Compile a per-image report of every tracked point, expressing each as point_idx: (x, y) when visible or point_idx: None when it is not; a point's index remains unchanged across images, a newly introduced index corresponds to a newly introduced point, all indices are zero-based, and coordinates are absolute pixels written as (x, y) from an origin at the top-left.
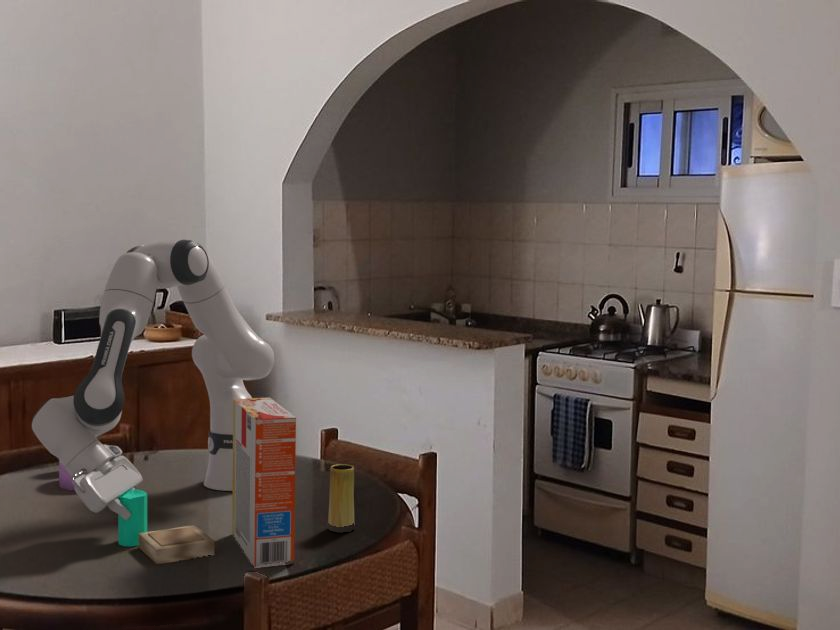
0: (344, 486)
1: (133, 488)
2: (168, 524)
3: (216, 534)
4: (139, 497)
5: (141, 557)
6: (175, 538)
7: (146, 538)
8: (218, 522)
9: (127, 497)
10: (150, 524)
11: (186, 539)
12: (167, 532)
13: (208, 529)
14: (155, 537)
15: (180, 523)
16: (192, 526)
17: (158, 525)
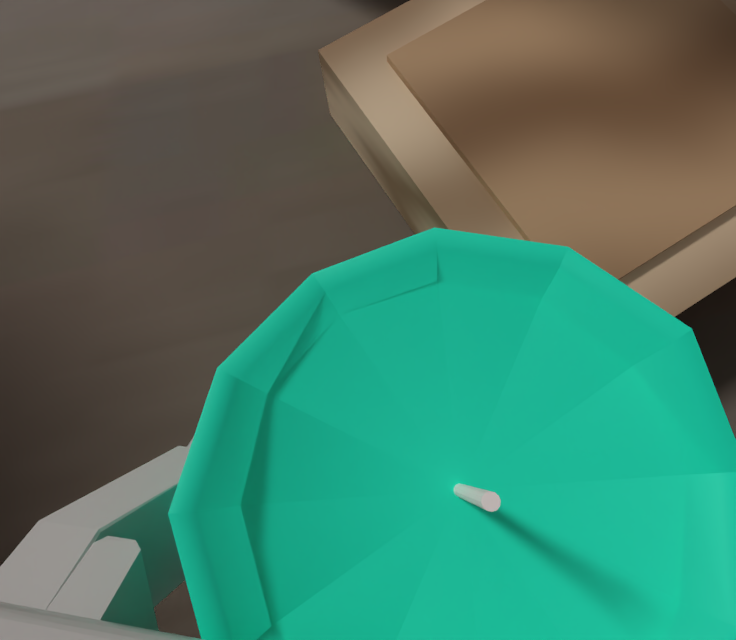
0: None
1: (10, 601)
2: (24, 329)
3: (244, 22)
4: (649, 307)
5: (732, 329)
6: (672, 80)
7: (688, 289)
8: (17, 56)
9: (593, 565)
10: (10, 454)
11: (679, 10)
12: (539, 165)
13: (148, 78)
14: (682, 218)
15: (11, 258)
16: (351, 51)
17: (40, 391)
